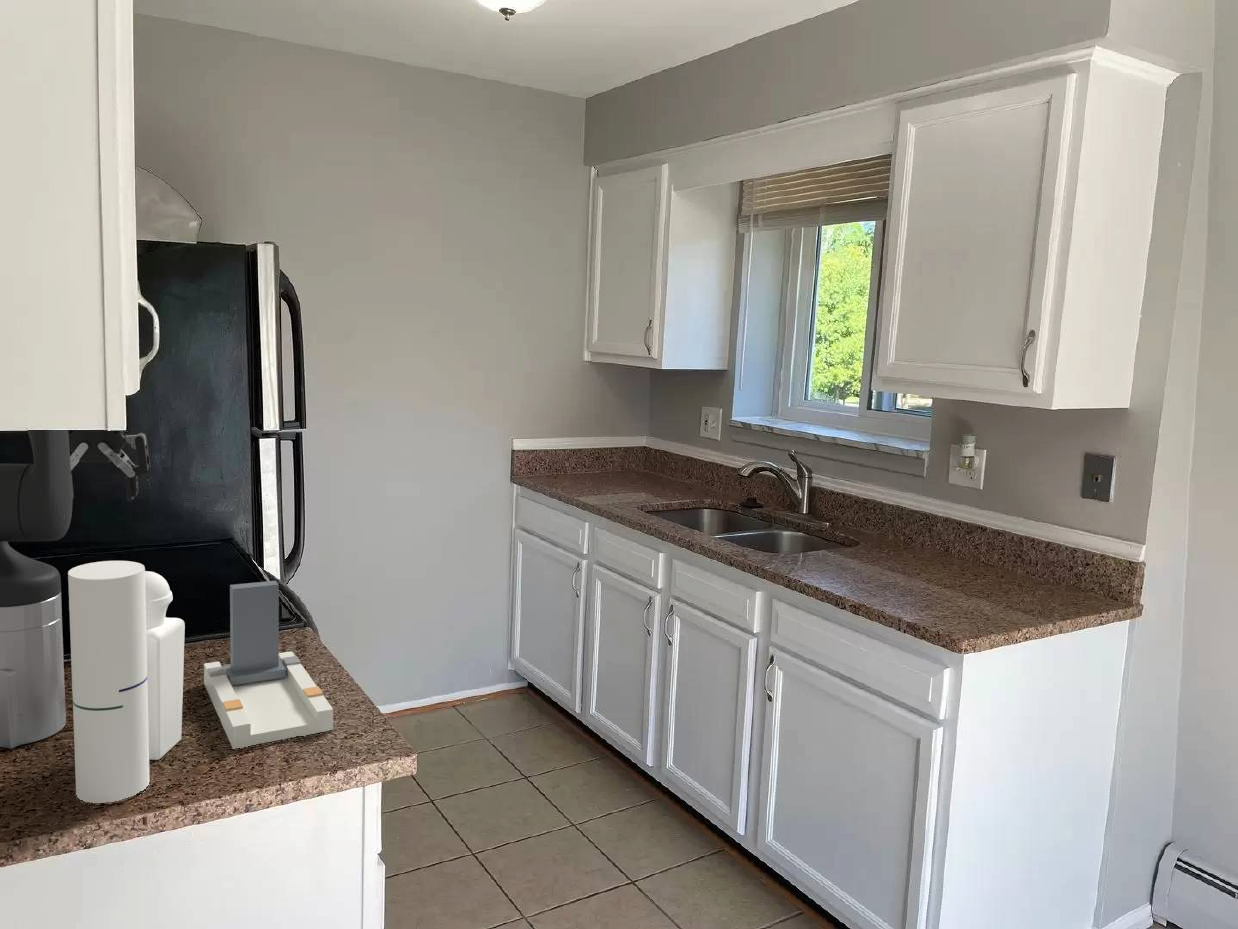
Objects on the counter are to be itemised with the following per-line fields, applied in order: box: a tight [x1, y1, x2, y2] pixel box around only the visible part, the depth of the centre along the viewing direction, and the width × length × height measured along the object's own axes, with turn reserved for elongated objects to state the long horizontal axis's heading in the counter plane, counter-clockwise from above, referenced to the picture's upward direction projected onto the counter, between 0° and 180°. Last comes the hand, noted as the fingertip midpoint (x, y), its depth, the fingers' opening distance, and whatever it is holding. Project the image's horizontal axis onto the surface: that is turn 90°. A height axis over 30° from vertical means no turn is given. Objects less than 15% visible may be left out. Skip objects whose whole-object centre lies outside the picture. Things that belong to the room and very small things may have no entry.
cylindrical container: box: [67, 560, 150, 803], centre depth 101 cm, size 7×7×25 cm
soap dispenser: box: [145, 570, 186, 761], centre depth 110 cm, size 6×6×22 cm
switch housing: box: [203, 651, 334, 750], centre depth 125 cm, size 22×12×3 cm, turn 32°
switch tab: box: [222, 580, 286, 686], centre depth 130 cm, size 5×7×13 cm
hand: (100, 499), depth 145 cm, fingers open, 8 cm apart
